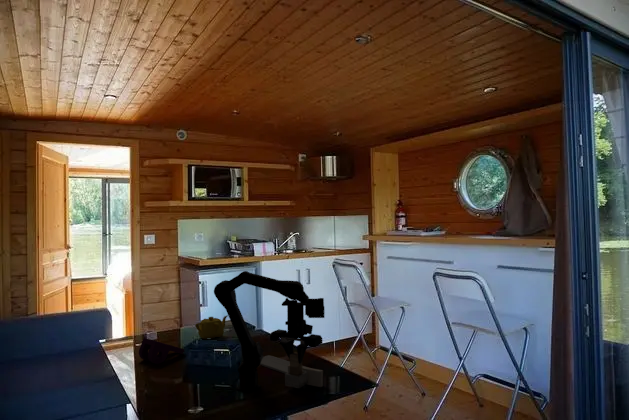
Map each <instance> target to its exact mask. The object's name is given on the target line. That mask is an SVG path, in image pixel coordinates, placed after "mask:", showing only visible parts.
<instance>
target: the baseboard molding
mask: <svg viewBox="0 0 629 420" xmlns="http://www.w3.org/2000/svg"><path fill="white" fill-rule="evenodd" d="M261 365H262V367H265V368H268V369H270V370H274V371H276V372H279V373H280V374H281V373H282V374H284V375H285V374H286V373H288V365H290V360H286V359H283V358H279V357H276V356H273V355H269V354H268V355H265V356H264V355H263V359H262V361H261V363H260V365H259V366H261ZM302 367H307V368H310V367H308V366H305V365H302ZM320 370H323V374H325V373H326V372H327V371H326V369H323V368H321V369H320Z"/></svg>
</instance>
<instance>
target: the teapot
mask: <svg viewBox="0 0 629 420" xmlns="http://www.w3.org/2000/svg"><path fill="white" fill-rule="evenodd" d="M228 317H229V316H228V314H227V315H224V316H223V317H222V320H221V318H220V319H219V318H217V317H214V316H208V318H203V319H201V321H200V322H197V323H196V324H195V325H194V326H195V329H196V330H197V333H198V336H199V337H200V338H202V339H204V340H207V338H211V339H215V337H220V338H221V337H223V336H224V333H225V326H226V320H227V318H228Z"/></svg>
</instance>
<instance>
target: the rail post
mask: <svg viewBox="0 0 629 420" xmlns="http://www.w3.org/2000/svg"><path fill="white" fill-rule="evenodd" d="M289 361H290V374H291V375H296V376H299V375H301V374H302V366H303V362H302V363H300V364H299V361H298V353H297V351H293V353H292V354H290V360H289Z"/></svg>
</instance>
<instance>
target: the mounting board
mask: <svg viewBox="0 0 629 420" xmlns="http://www.w3.org/2000/svg"><path fill="white" fill-rule="evenodd" d="M307 367H308V366H305V367H302V370H307V372H308V383H307V384H306V385H308V386H313V387H317V388H322V387H324V369H322V370H321V369H319V368H313V367H312V368H311V367H309V368H307ZM289 371H290V365H288V372H289Z"/></svg>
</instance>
